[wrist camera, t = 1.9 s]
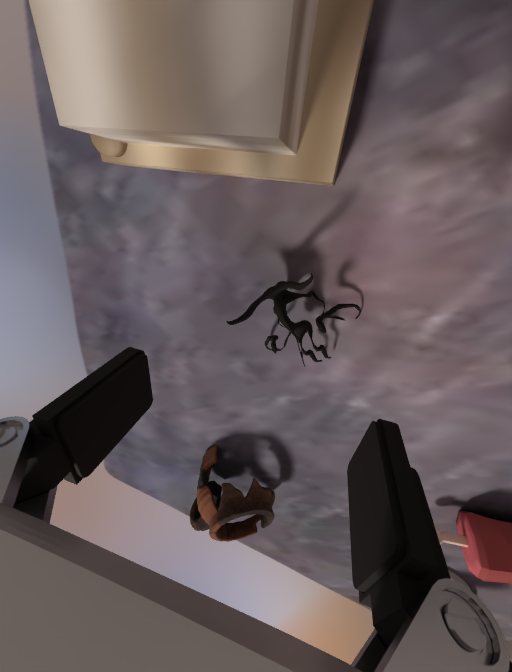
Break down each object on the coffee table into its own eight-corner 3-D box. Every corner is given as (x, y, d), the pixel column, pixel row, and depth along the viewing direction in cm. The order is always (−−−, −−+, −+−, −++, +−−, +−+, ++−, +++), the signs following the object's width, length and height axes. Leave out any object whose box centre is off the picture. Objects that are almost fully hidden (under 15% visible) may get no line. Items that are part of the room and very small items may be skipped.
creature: (372, 326, 19) (323, 238, 15) (389, 380, 15) (329, 276, 11) (286, 360, 23) (231, 295, 19) (281, 409, 18) (210, 339, 15)
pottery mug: (223, 427, 29) (233, 504, 22) (277, 444, 34) (299, 511, 27) (170, 480, 33) (165, 559, 26) (226, 488, 38) (234, 556, 31)
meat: (610, 527, 19) (668, 622, 15) (572, 538, 22) (614, 619, 19) (425, 495, 23) (440, 565, 20) (416, 508, 26) (428, 571, 23)
